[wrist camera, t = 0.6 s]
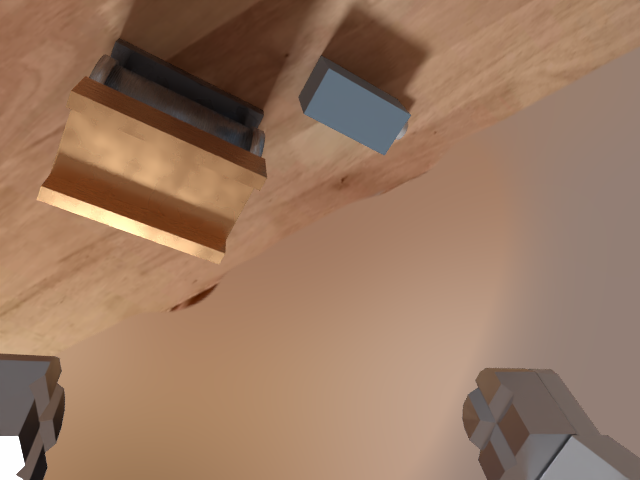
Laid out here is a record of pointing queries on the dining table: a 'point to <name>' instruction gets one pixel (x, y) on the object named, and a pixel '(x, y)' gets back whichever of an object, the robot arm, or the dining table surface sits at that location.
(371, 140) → the blue-grey rectangular block
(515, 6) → the dining table surface
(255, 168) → the wood-topped grey cylinder
